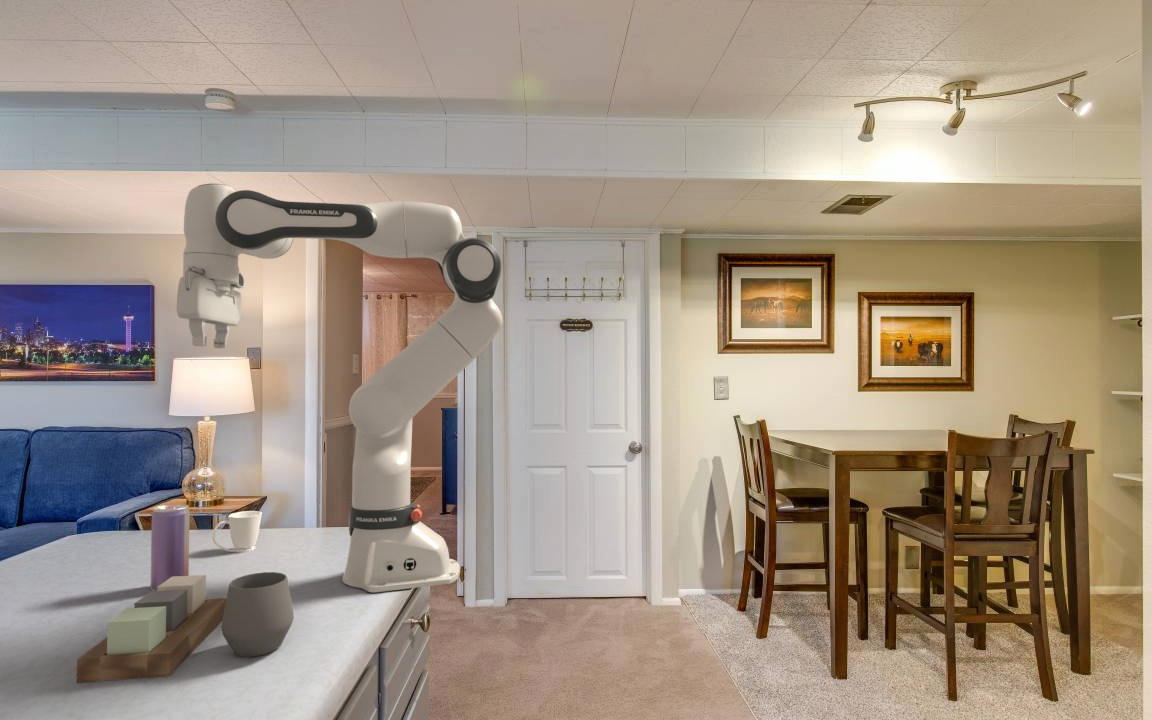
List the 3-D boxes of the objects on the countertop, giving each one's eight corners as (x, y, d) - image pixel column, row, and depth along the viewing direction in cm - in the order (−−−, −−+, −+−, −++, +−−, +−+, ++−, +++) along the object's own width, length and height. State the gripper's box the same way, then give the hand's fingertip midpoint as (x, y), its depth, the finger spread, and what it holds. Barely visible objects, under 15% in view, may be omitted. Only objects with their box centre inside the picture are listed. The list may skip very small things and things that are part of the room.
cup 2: (217, 668, 87) (218, 594, 87) (224, 641, 95) (225, 574, 95) (293, 656, 90) (293, 585, 90) (293, 631, 99) (294, 567, 99)
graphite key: (186, 618, 97) (187, 589, 97) (172, 631, 92) (172, 601, 92) (150, 620, 96) (151, 591, 96) (133, 634, 91) (134, 603, 91)
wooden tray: (227, 615, 105) (227, 597, 105) (169, 675, 84) (169, 653, 84) (153, 620, 103) (154, 601, 103) (76, 682, 82) (76, 659, 82)
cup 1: (265, 550, 143) (266, 514, 144) (215, 558, 137) (216, 521, 137) (257, 543, 149) (258, 509, 149) (209, 551, 142) (209, 515, 142)
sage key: (165, 637, 90) (166, 606, 90) (148, 652, 85) (149, 619, 85) (126, 640, 89) (127, 608, 89) (106, 655, 84) (107, 622, 84)
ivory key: (205, 602, 104) (205, 575, 104) (192, 613, 99) (192, 585, 99) (171, 603, 103) (172, 576, 103) (157, 615, 98) (157, 586, 98)
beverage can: (170, 594, 115) (171, 511, 115) (142, 591, 116) (143, 509, 116) (195, 583, 121) (197, 504, 121) (169, 581, 122) (170, 503, 122)
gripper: (206, 264, 108) (205, 345, 108) (247, 280, 128) (247, 349, 128) (166, 262, 107) (165, 344, 107) (214, 280, 127) (213, 349, 127)
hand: (210, 347), depth 117 cm, fingers open, 8 cm apart
